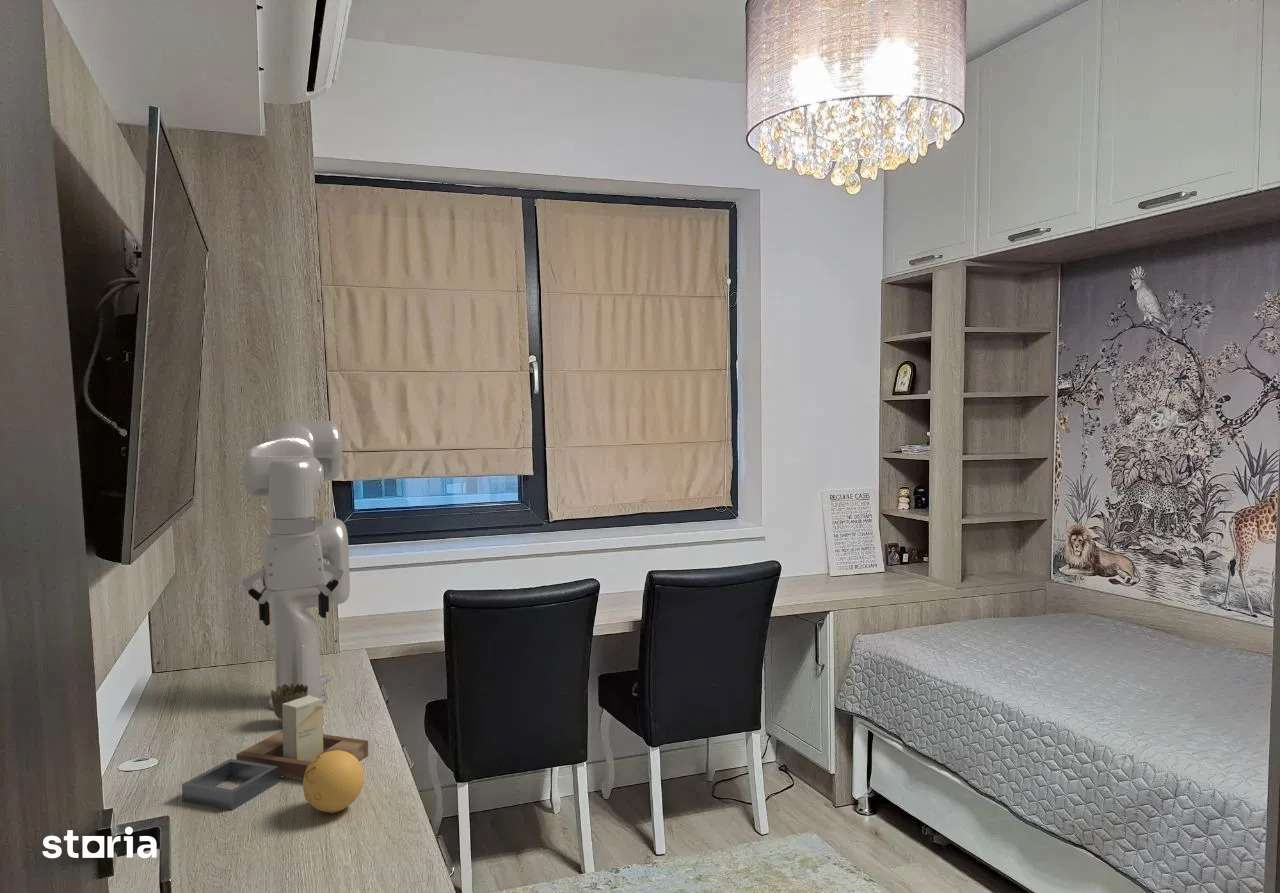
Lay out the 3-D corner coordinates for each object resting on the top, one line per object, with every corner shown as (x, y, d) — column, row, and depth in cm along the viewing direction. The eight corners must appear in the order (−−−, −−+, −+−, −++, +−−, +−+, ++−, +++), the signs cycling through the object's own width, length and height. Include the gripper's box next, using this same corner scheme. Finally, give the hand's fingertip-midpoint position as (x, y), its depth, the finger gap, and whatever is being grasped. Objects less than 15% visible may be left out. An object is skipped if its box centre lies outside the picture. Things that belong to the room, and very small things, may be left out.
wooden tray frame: (285, 743, 172) (285, 728, 172) (368, 755, 166) (368, 740, 166) (236, 769, 160) (236, 754, 160) (324, 784, 154) (324, 767, 154)
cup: (295, 732, 178) (294, 695, 178) (264, 729, 179) (263, 693, 179) (315, 719, 185) (314, 683, 185) (285, 717, 187) (284, 681, 186)
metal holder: (230, 774, 158) (230, 758, 158) (278, 782, 155) (278, 766, 154) (182, 800, 148) (181, 784, 147) (232, 810, 144) (232, 793, 144)
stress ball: (371, 807, 147) (353, 757, 152) (371, 782, 140) (354, 730, 146) (311, 831, 142) (296, 779, 147) (309, 806, 135) (293, 752, 141)
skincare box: (296, 771, 159) (294, 708, 159) (282, 765, 162) (280, 703, 161) (325, 759, 165) (323, 698, 164) (310, 754, 167) (309, 694, 166)
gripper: (337, 521, 161) (339, 609, 161) (237, 528, 151) (240, 622, 152) (346, 525, 154) (348, 617, 155) (242, 533, 145) (245, 631, 146)
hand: (294, 620), depth 154 cm, fingers open, 9 cm apart
